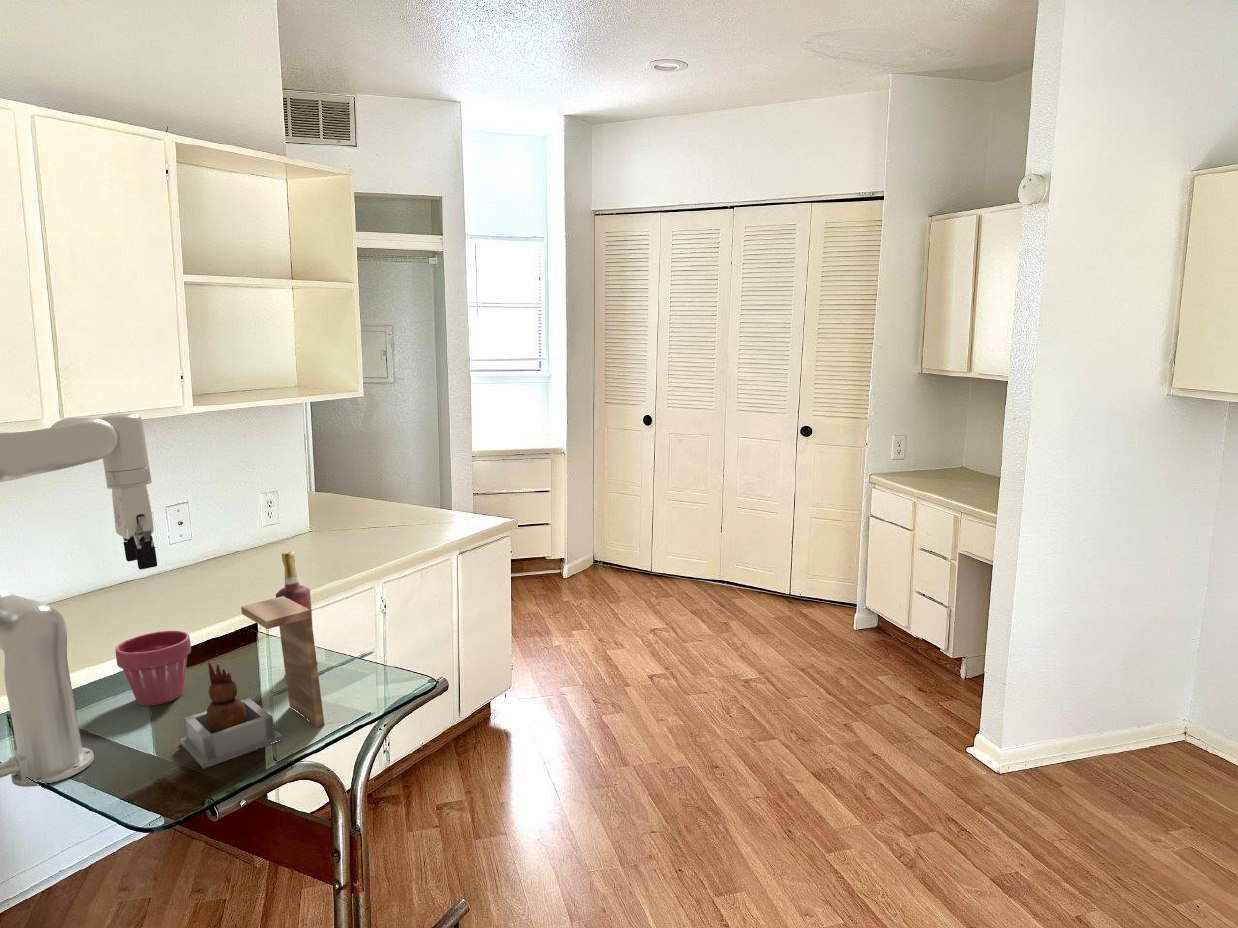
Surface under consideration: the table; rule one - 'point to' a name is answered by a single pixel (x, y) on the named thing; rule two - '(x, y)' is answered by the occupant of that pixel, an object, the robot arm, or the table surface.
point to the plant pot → (155, 665)
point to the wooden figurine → (223, 702)
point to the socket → (228, 736)
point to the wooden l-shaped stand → (294, 652)
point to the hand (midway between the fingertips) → (141, 563)
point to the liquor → (294, 584)
